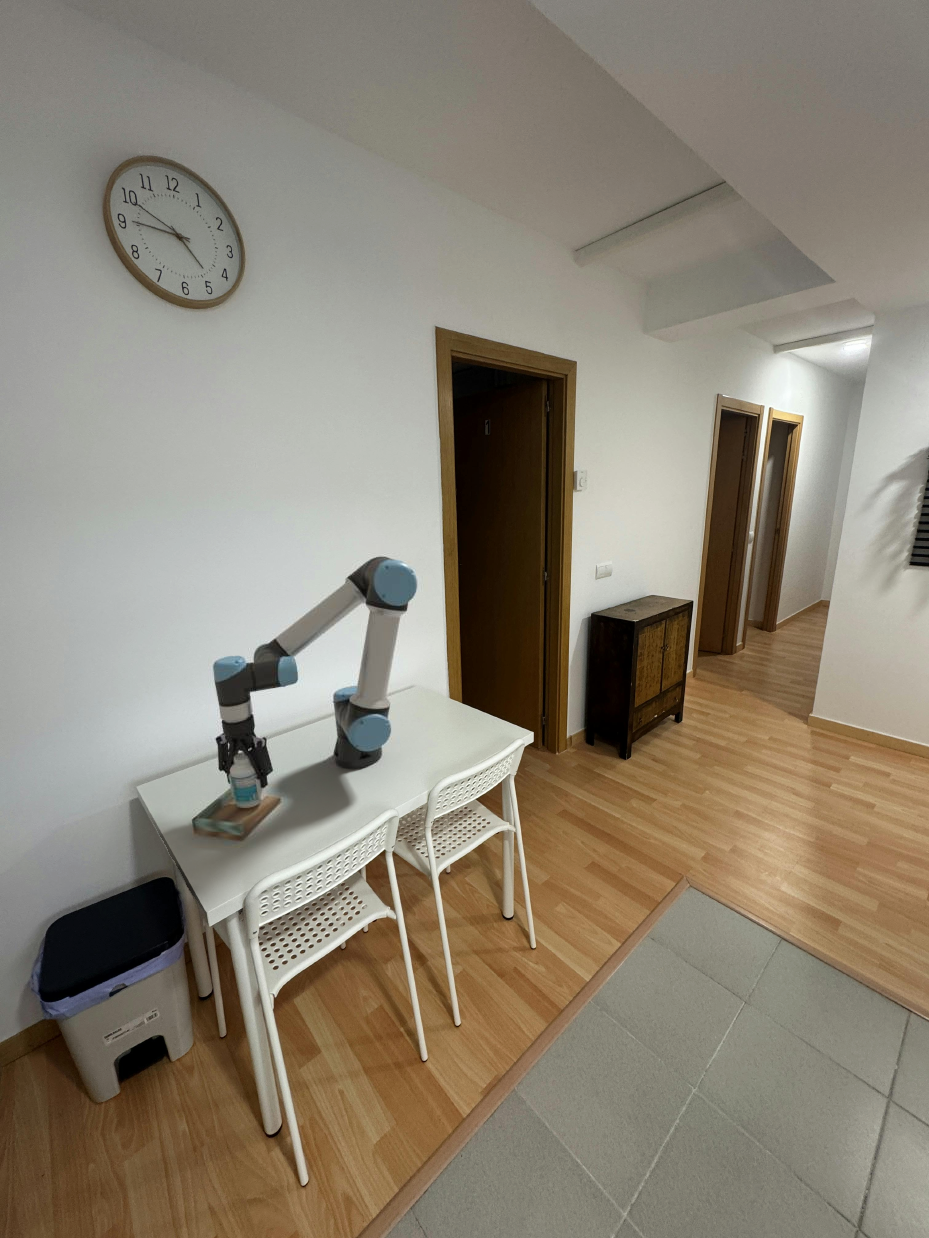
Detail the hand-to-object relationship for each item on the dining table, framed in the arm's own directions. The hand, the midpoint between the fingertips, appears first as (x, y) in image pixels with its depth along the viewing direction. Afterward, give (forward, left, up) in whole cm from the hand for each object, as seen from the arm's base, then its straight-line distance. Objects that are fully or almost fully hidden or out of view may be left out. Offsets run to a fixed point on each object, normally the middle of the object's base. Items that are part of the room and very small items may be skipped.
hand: (249, 795), depth 133 cm
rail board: (+1, +4, -4) cm, 6 cm away
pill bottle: (0, 0, -2) cm, 2 cm away
